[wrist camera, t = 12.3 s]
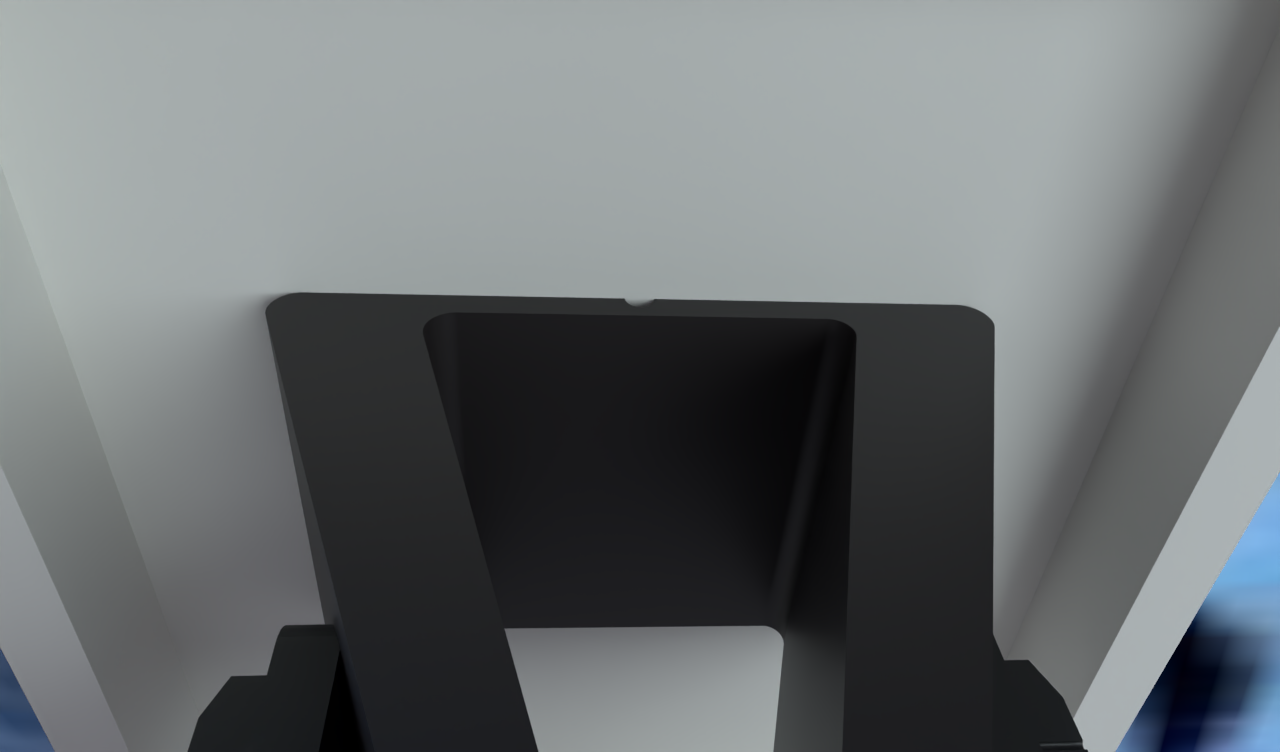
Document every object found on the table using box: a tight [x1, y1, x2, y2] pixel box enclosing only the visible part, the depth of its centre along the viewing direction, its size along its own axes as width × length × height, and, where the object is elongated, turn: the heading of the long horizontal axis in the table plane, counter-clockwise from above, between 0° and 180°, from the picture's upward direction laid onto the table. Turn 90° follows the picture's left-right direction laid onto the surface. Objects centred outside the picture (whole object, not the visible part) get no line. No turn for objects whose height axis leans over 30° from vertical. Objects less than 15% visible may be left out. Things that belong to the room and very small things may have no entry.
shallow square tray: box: [0, 0, 1280, 752], centre depth 14 cm, size 18×20×3 cm
